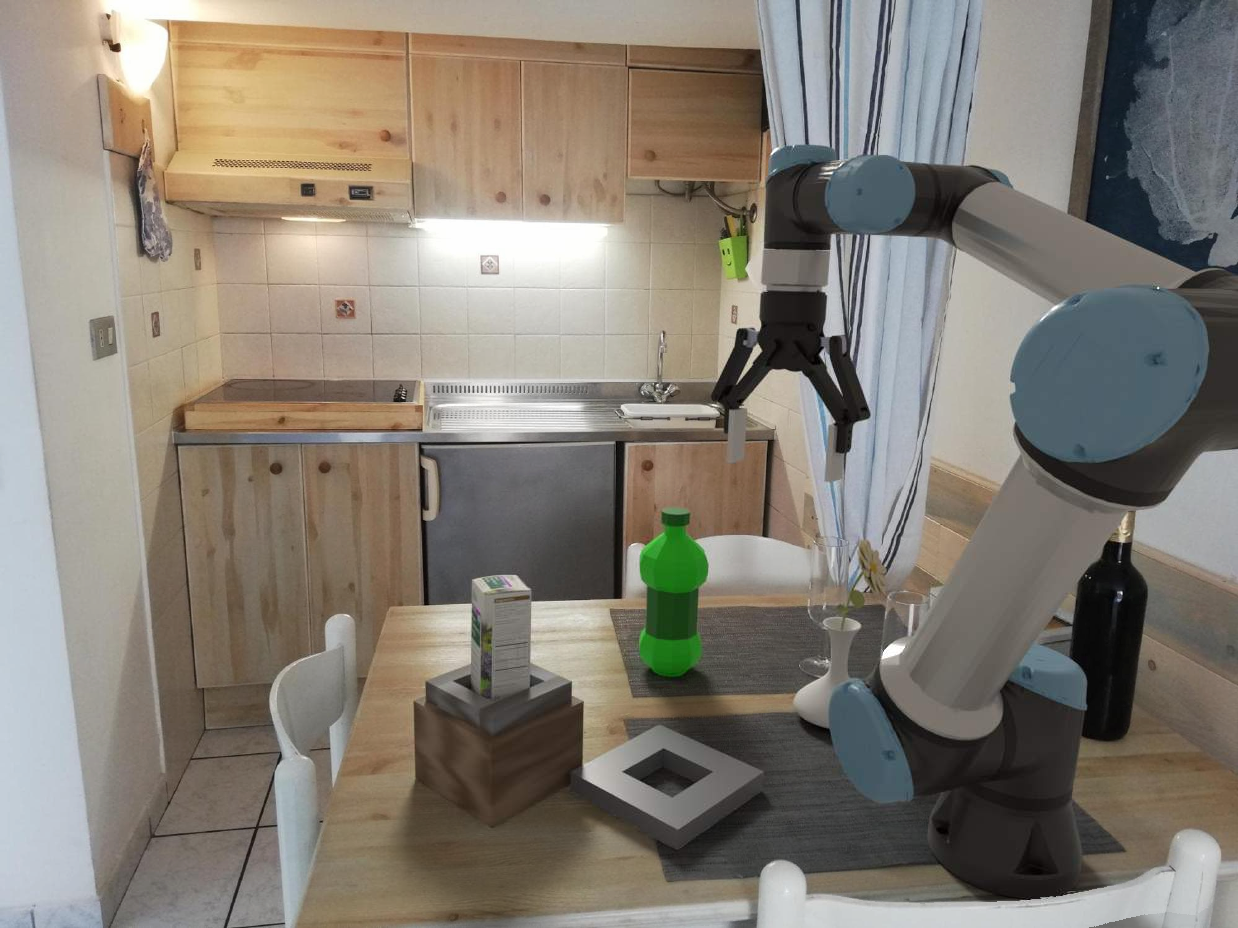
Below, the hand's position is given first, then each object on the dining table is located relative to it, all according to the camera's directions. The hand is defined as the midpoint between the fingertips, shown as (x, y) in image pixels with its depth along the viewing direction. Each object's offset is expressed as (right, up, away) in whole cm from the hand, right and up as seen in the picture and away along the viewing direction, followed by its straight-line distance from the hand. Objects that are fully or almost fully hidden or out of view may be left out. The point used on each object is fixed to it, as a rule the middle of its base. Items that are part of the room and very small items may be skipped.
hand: (782, 470), depth 111 cm
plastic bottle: (-12, -31, +31) cm, 45 cm away
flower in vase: (+11, -34, +17) cm, 40 cm away
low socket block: (-14, -38, -2) cm, 40 cm away
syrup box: (-33, -27, -2) cm, 43 cm away
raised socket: (-34, -37, 0) cm, 50 cm away
